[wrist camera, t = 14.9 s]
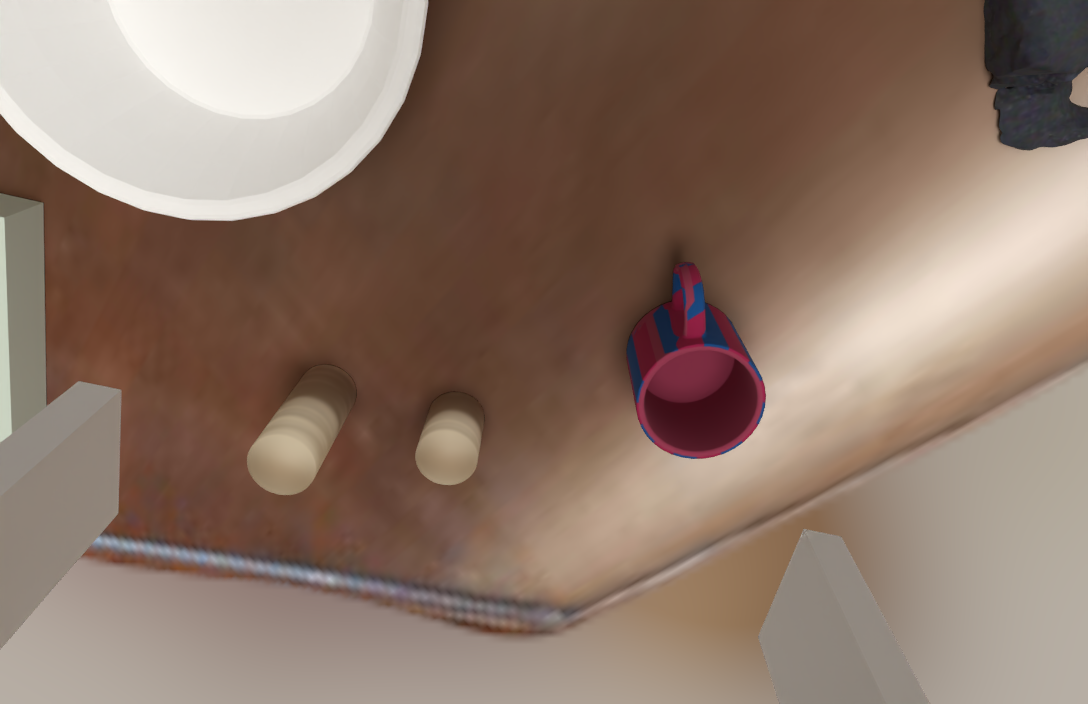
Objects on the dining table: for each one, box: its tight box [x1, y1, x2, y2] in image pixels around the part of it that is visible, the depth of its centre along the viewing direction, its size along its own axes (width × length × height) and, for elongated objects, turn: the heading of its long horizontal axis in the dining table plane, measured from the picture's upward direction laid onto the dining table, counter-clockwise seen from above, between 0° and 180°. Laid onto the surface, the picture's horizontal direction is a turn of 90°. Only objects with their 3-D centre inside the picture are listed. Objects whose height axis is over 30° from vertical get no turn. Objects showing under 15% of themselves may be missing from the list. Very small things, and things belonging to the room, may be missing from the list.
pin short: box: [415, 392, 485, 485], centre depth 48 cm, size 4×4×5 cm
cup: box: [627, 262, 766, 459], centre depth 45 cm, size 7×10×7 cm
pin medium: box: [247, 365, 357, 495], centre depth 46 cm, size 4×4×9 cm
